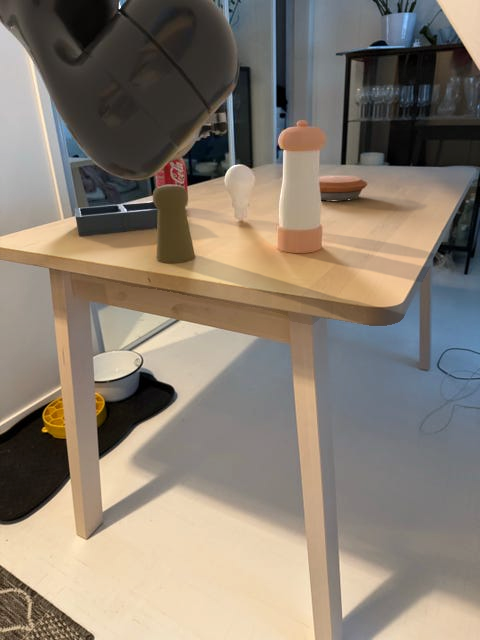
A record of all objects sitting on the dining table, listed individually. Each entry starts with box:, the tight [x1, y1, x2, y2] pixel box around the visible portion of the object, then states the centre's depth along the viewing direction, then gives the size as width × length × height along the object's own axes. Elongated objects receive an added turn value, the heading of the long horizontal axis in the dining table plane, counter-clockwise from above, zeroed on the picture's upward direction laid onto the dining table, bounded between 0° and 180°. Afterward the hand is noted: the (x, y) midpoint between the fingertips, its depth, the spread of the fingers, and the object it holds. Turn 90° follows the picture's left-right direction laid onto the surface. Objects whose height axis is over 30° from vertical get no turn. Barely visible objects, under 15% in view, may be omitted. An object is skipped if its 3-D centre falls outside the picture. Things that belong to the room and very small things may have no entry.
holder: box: [74, 200, 158, 237], centre depth 92 cm, size 18×10×4 cm, turn 109°
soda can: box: [154, 157, 189, 208], centre depth 106 cm, size 7×7×12 cm
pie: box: [319, 174, 368, 201], centre depth 115 cm, size 15×16×5 cm
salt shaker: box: [276, 119, 327, 254], centre depth 72 cm, size 7×7×19 cm
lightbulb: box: [224, 164, 256, 221], centre depth 92 cm, size 6×6×11 cm
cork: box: [152, 185, 196, 264], centre depth 70 cm, size 6×6×11 cm
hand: (163, 132), depth 57 cm, fingers open, 8 cm apart
